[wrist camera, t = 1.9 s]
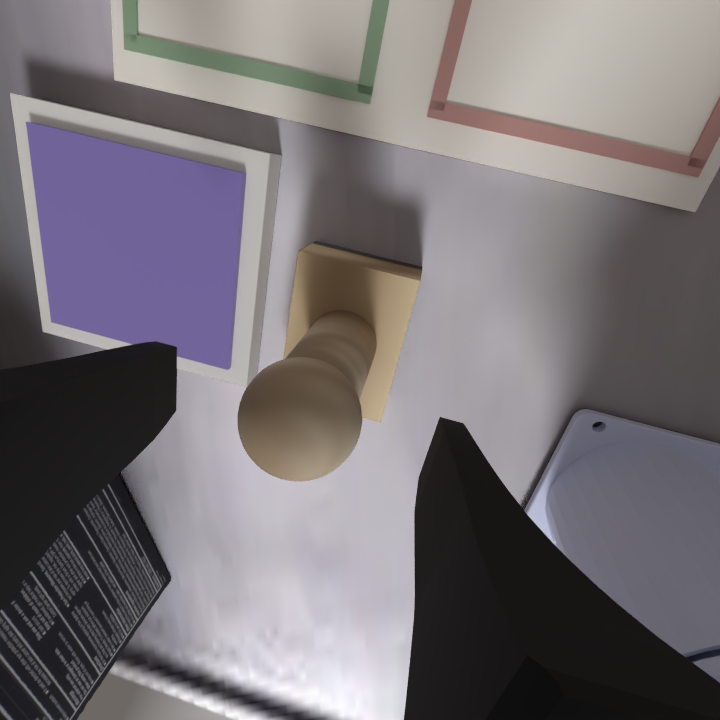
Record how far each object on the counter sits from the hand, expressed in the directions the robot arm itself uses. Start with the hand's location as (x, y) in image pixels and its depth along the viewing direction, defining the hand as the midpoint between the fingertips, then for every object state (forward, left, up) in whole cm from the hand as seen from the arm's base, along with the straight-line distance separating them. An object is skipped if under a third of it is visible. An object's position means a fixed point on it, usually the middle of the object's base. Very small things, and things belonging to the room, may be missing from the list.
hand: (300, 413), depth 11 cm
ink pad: (+9, -1, -8) cm, 12 cm away
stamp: (0, 0, -8) cm, 8 cm away
